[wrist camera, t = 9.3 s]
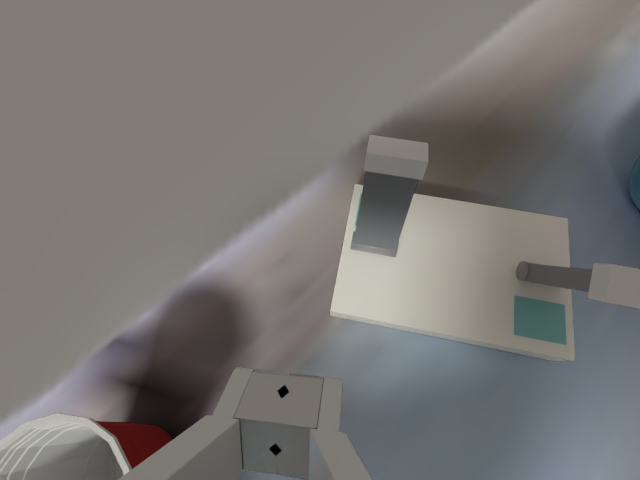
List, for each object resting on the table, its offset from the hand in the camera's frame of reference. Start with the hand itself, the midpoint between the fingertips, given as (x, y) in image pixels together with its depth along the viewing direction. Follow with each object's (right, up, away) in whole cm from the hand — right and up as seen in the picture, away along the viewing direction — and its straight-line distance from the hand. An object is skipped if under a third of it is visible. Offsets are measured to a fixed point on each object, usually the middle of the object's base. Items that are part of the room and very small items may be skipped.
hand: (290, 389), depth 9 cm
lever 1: (+6, +4, +24) cm, 25 cm away
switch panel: (+14, +1, +27) cm, 30 cm away
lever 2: (+22, +1, +22) cm, 31 cm away
